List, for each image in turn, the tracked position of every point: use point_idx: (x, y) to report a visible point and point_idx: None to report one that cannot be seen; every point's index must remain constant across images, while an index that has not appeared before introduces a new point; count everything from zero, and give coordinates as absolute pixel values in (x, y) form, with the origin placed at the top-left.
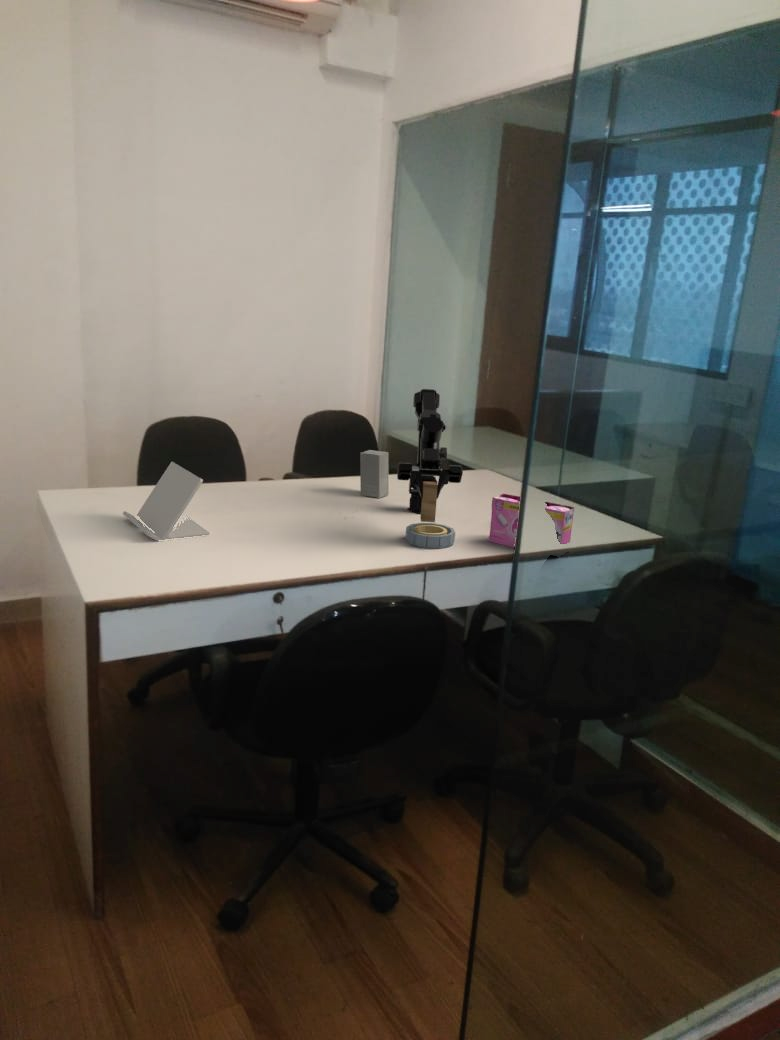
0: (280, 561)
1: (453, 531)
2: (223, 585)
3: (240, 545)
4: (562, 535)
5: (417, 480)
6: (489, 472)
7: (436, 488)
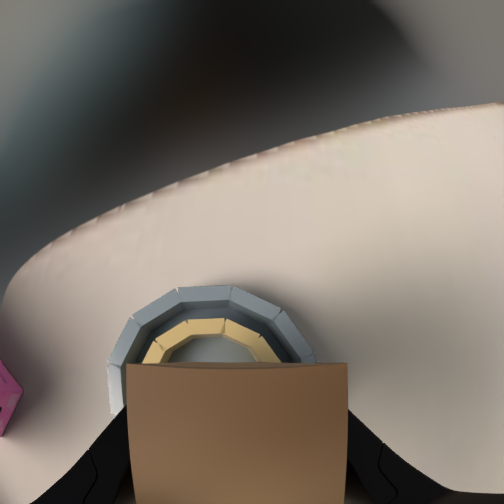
0: (486, 175)
1: (112, 371)
2: (476, 109)
3: None
4: None
5: (423, 478)
6: None
7: (153, 364)
